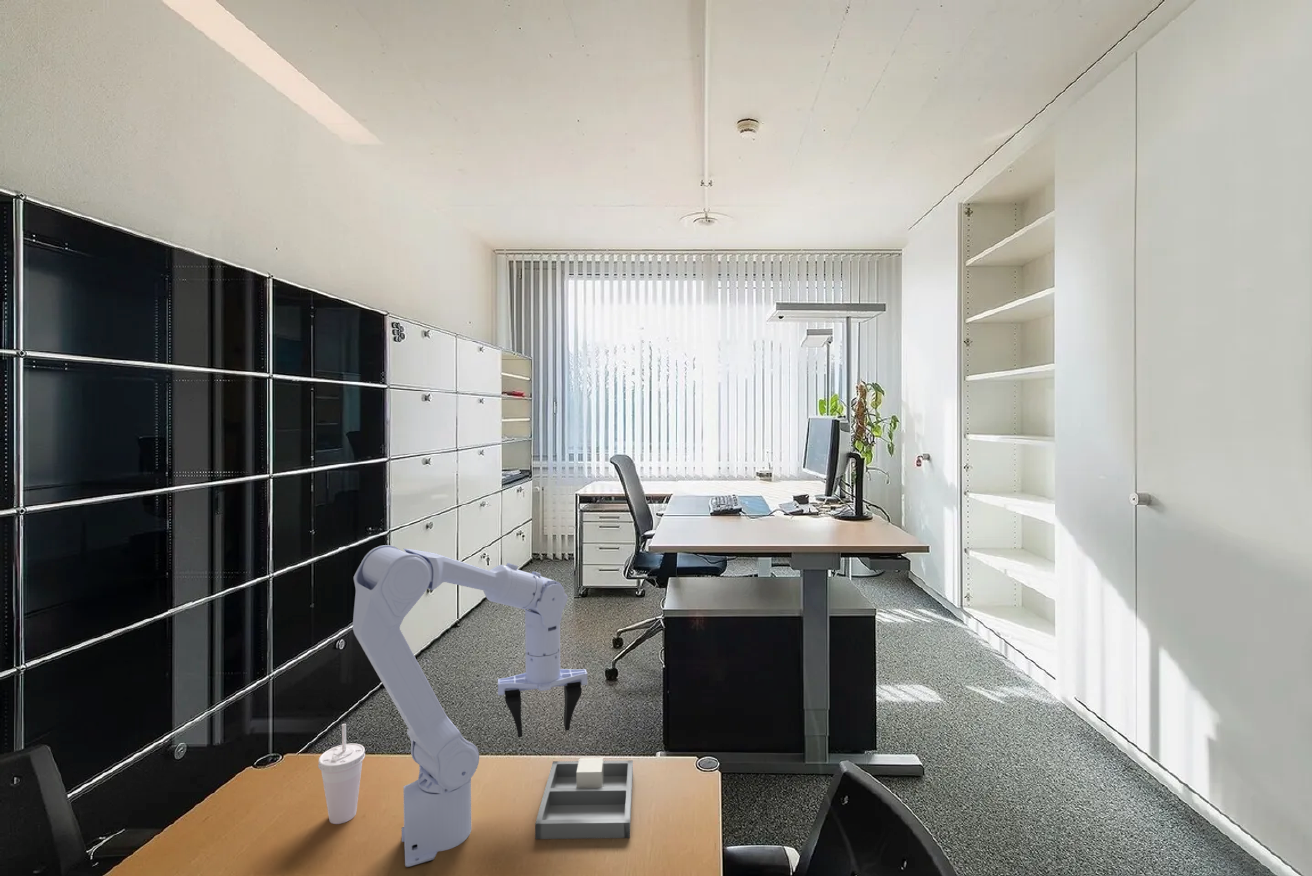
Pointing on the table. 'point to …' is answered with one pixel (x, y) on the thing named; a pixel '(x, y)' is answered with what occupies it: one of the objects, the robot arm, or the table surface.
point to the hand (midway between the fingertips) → (543, 731)
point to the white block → (590, 773)
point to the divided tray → (586, 803)
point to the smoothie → (342, 779)
